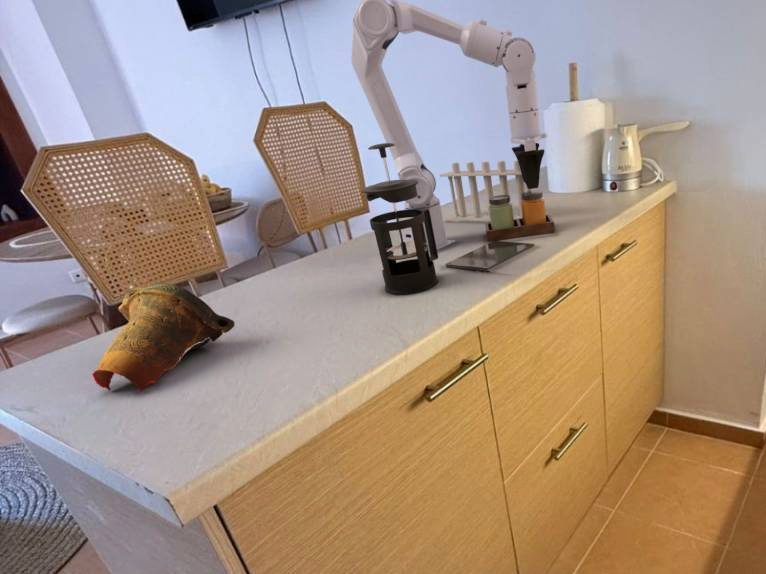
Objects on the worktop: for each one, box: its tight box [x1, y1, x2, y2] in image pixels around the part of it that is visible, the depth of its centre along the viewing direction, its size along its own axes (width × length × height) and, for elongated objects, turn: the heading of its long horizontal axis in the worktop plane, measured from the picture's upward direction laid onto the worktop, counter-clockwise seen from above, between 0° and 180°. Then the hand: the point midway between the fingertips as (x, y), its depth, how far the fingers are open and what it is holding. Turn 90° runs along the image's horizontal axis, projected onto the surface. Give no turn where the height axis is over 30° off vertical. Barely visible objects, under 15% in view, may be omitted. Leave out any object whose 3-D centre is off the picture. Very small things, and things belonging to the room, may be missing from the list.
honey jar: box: [521, 190, 547, 226], centre depth 115 cm, size 5×5×8 cm
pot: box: [92, 283, 236, 393], centre depth 77 cm, size 17×11×18 cm
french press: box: [361, 142, 439, 296], centre depth 91 cm, size 12×9×23 cm
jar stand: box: [484, 213, 556, 243], centre depth 117 cm, size 14×7×3 cm, turn 94°
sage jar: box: [488, 194, 515, 230], centre depth 115 cm, size 5×5×8 cm
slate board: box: [445, 240, 535, 273], centre depth 105 cm, size 15×10×1 cm, turn 144°
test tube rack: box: [439, 159, 532, 223], centre depth 129 cm, size 25×4×13 cm, turn 57°
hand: (531, 185), depth 112 cm, fingers open, 7 cm apart
